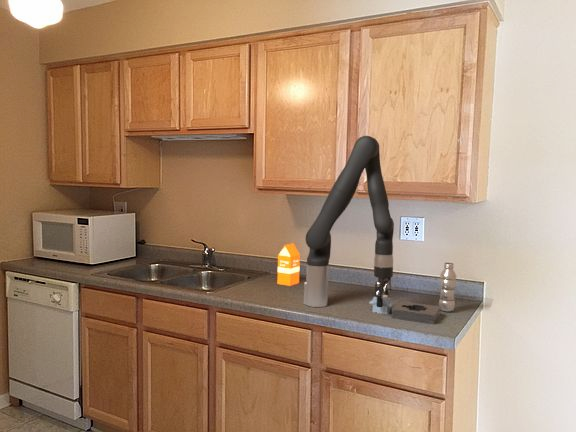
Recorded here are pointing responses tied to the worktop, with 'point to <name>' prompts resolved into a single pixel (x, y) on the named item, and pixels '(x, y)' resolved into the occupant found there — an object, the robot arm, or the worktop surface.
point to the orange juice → (288, 265)
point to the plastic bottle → (447, 288)
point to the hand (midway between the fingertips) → (382, 304)
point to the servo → (385, 308)
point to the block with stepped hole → (416, 312)
